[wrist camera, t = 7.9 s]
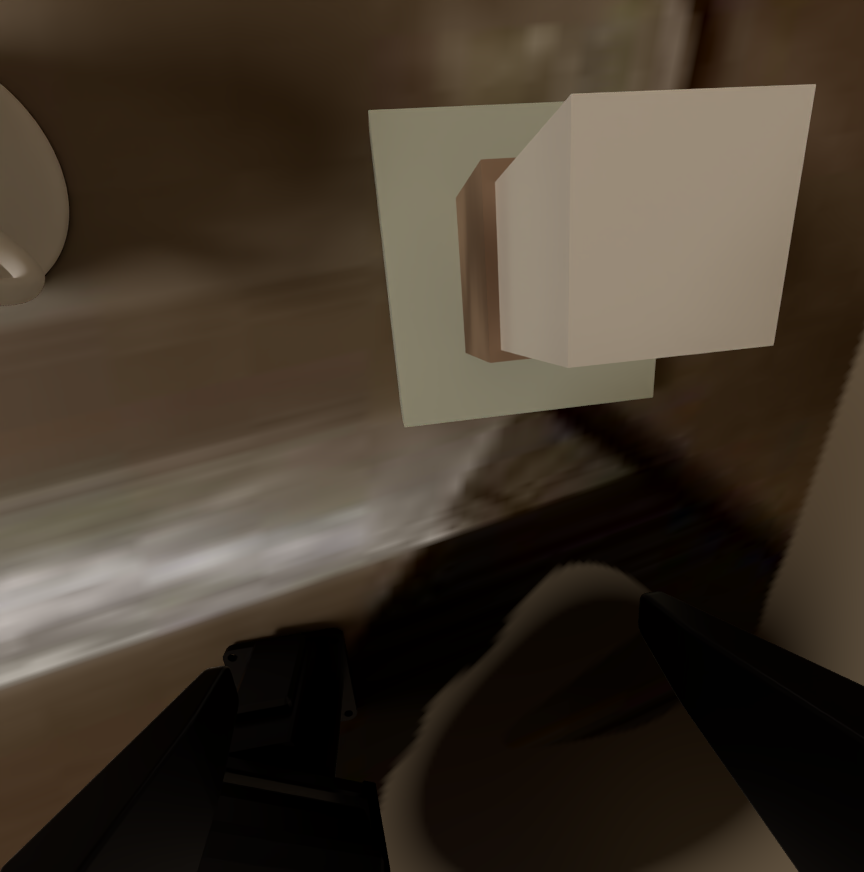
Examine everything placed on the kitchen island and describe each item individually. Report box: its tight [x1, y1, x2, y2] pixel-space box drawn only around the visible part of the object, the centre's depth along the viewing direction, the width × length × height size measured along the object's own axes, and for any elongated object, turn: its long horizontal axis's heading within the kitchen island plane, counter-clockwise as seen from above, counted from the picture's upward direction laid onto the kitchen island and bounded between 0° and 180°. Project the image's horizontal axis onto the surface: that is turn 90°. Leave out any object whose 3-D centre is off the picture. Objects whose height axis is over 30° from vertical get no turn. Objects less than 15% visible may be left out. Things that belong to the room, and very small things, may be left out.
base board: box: [368, 102, 656, 427], centre depth 18 cm, size 12×12×2 cm
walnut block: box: [456, 157, 532, 363], centre depth 15 cm, size 6×6×4 cm
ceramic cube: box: [495, 84, 816, 368], centre depth 11 cm, size 5×5×5 cm
